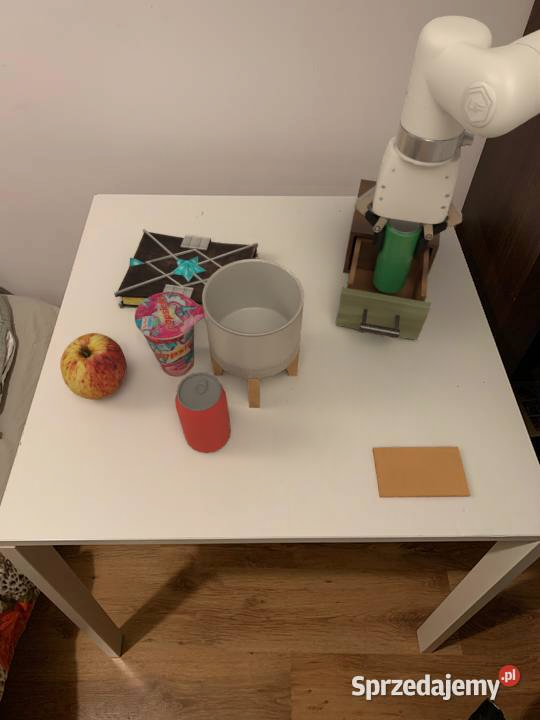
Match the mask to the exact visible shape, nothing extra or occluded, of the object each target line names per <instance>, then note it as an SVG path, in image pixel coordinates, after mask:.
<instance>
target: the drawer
mask: <svg viewBox="0 0 540 720" xmlns="http://www.w3.org/2000/svg"><path fill="white" fill-rule="evenodd" d="M375 248H376V245H372V239H369V238H363V237H357V240H356V245H355V250H354V255H353V260H352V265H351V270H350V274H349V275H348V282H347V285H346V287H342V289H341V295H340V298H339V304H338V310H337V315H336V319H335V326H340V327H346V328H351V329H354V330H355V329H356V330H358V332H361V333H366V334H371V335H376V336H380V337H381V336H382V337H387V338H393V339H400V338H404V339H410V340H416V341H418V339H419V337H420V334H421V332H422V330H423V327H424V325H425V323H426V320H427V318H428V315H429V313H430V310H431V307H432V305H431V304H432V303H431V302H428V301H425V300H426V298H427V290H428V277H429V274H428V263H429V248H426V251H425V253H422V252H421V254H420V257H419V260H415V259H414V256H413V259H412V262H411V266H410V269H409V272H408V275H407V278H406V282H405V285H404V287H403V289H402V290H400V291H399V292H396V293H385V292H382V291H380V290H378V289H377V288H376V287H375V286H374V284H373V275H374V271H375V267H376V263H377V259H378V254H379V253H378V254H375Z"/></svg>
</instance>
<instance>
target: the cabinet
mask: <svg viewBox="0 0 540 720" xmlns="http://www.w3.org/2000/svg"><path fill="white" fill-rule="evenodd" d="M376 182H377V180H369V179H363V178H362V179H360V184H359V188H358V192H357V196H356V197H357V198H356V200H357V199H358V198H359V197H360V196H362V195H363V194H364V193H366V192H367V191H368V190H370V189H371V188H373V187H374V186H375V185H376ZM369 205H370V206H372V207H373V202H371V203H370V204H369ZM421 224H422V226H423V223H421ZM385 225H386V224H385ZM373 234H374V230H373V227H372V225H371V224H370V223H369V222H368V221H367V220H366V218H365V216H364V215H362V214H361V213H360V212H359V211H358V210H357V209H356V208H355V207H354V212H353V216H352V220H351V226H350V231H349V236H348V242H347V247H346V253H345V257H344V264H343V268H342V273H344V274H349V275H350V270H351V265H352V260H353V255H354V250H355V245H356V240H357V237H363V238H369V239H373ZM440 243H441V232H440V233H438V234H436V235H434V236H433V238H432V239H431V240H429V242H428V245H427V248H429V263H428V275H429V273H430V271H431V268H432V266H433V263H434V261H435V258H436V255H437V253H438V250H439V248H440Z"/></svg>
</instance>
